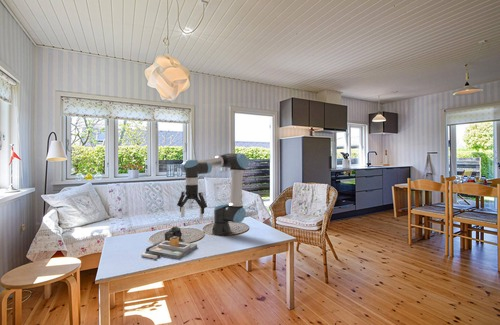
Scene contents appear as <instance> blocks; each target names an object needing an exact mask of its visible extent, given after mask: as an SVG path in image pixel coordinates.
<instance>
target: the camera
mask: <svg viewBox="0 0 500 325" xmlns="http://www.w3.org/2000/svg"><path fill="white" fill-rule="evenodd" d="M173 236H177V237H179V240H180V239H181V238H182V236H183V233H182V230H181V227H179V226H177V225H174V226H172V227H171V228H170V229H169V230H168V231H166V232H165V233H164V241H170V238H171V237H173Z"/></svg>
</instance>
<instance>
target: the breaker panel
mask: <svg viewBox="0 0 500 325" xmlns="http://www.w3.org/2000/svg"><path fill="white" fill-rule="evenodd" d="M161 242H162V243H160V244H158V247H156V248H154V249H152V250H150V251H149V252H152V253H157V254H160V255H161V256H160V257H165V258H171V259H175V260H176V259H177V260H179V259H181V258H183V257H184V256H186V255H187V254H189V253H190V252H192V251H194V250H196V249H197V248H198V244H197V243H191V242H184V241H179V247H176V246H170V241H165V240H164V241H161Z"/></svg>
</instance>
